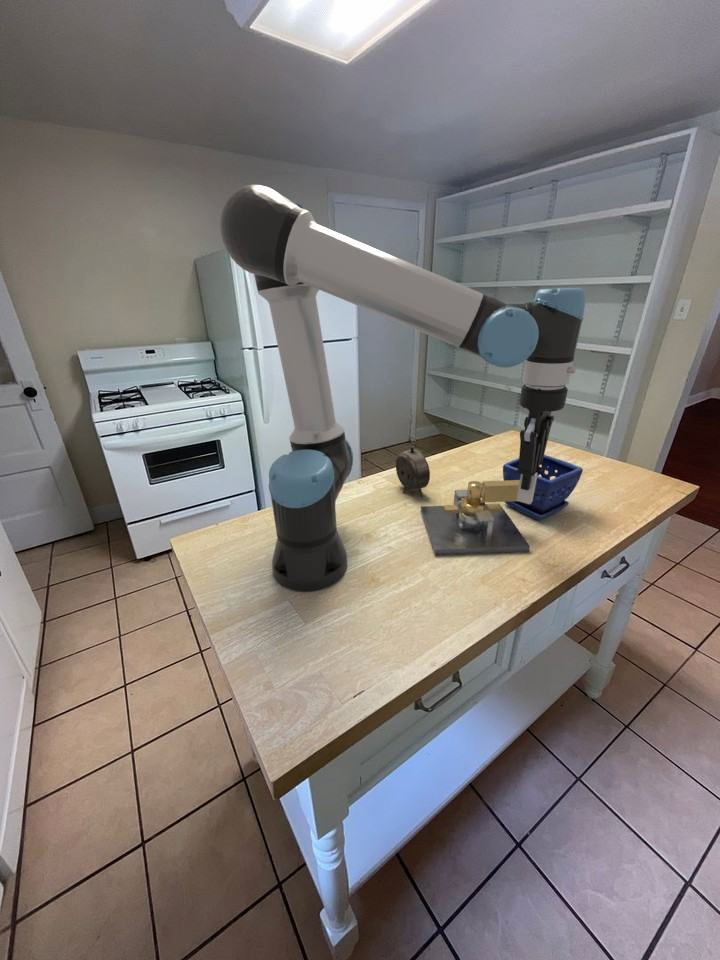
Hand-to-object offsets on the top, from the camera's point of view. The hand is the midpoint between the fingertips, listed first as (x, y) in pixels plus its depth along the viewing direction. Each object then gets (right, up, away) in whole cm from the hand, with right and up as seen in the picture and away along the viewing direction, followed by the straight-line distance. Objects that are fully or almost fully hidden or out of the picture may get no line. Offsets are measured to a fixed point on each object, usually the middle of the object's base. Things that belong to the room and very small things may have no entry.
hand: (524, 501), depth 78 cm
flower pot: (+11, -3, +19) cm, 22 cm away
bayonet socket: (-8, -7, +11) cm, 15 cm away
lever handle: (-6, -3, +8) cm, 11 cm away
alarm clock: (-20, +1, +29) cm, 35 cm away
